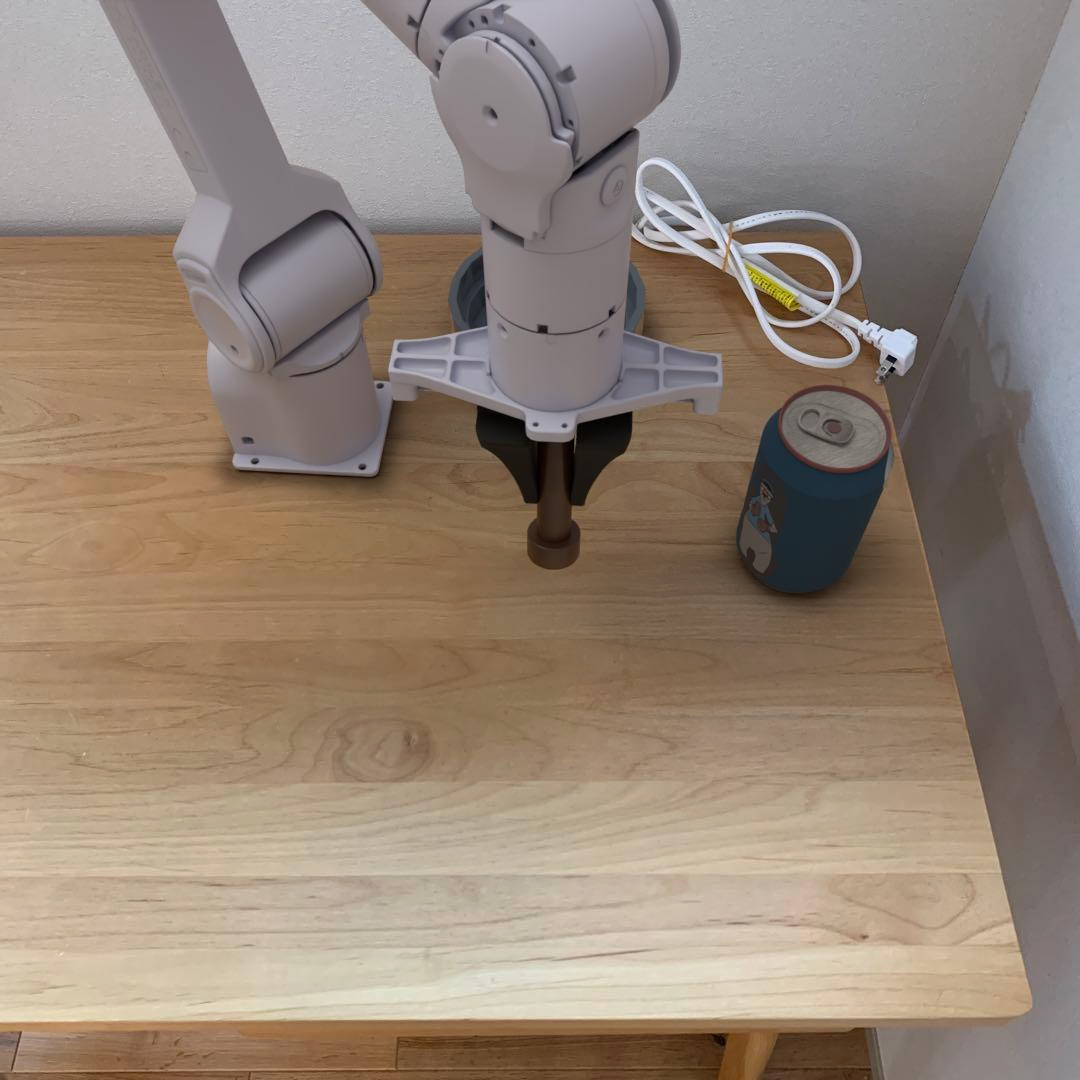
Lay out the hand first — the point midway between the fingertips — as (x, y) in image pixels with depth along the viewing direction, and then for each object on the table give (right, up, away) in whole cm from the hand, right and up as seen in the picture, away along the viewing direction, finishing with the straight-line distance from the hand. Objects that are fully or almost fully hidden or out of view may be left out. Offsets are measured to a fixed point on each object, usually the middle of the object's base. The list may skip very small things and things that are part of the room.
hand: (554, 489), depth 52 cm
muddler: (0, -3, +2) cm, 4 cm away
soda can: (+14, -4, +10) cm, 18 cm away
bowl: (0, +11, +20) cm, 23 cm away
